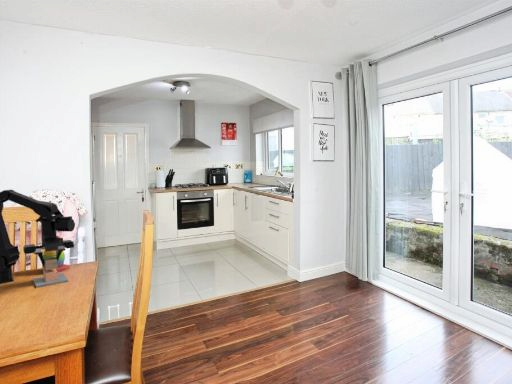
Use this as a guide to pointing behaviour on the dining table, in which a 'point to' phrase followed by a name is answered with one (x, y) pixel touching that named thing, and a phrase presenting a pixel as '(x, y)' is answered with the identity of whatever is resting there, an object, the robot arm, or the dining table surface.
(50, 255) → the stacking bear
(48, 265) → the walnut brick
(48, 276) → the terracotta brick
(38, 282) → the baseplate
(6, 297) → the dining table surface
